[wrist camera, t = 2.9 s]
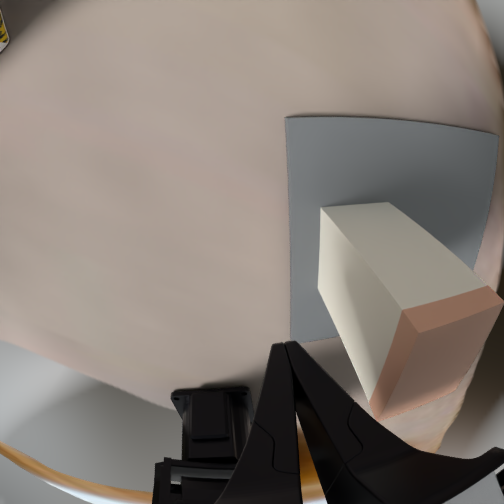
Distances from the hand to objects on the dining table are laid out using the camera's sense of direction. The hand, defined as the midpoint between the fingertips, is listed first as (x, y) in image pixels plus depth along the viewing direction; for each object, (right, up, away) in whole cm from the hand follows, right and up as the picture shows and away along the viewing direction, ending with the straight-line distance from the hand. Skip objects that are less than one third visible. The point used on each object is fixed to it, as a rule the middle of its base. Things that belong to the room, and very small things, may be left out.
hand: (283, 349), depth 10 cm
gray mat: (+8, +4, +7) cm, 12 cm away
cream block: (+5, +4, +6) cm, 8 cm away
